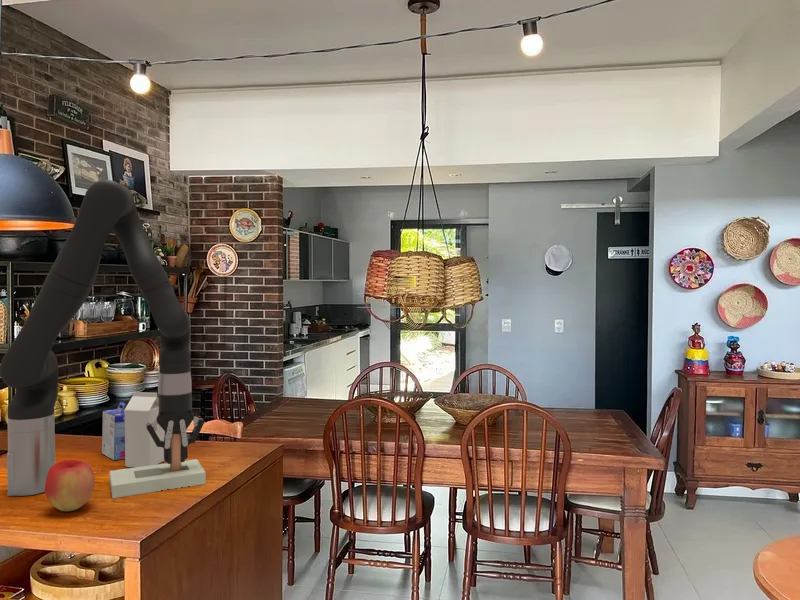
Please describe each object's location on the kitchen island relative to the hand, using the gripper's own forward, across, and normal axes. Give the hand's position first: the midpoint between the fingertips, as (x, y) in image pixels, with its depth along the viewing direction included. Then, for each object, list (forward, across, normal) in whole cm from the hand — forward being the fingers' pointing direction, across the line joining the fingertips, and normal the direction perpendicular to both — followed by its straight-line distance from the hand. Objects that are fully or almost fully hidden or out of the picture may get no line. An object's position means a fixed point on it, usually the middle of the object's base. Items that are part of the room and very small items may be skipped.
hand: (175, 461), depth 145 cm
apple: (+5, -22, -9) cm, 24 cm away
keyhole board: (+5, -4, 0) cm, 6 cm away
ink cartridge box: (+5, -11, +30) cm, 32 cm away
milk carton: (+5, -5, +18) cm, 19 cm away
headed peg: (+4, 0, 0) cm, 4 cm away
